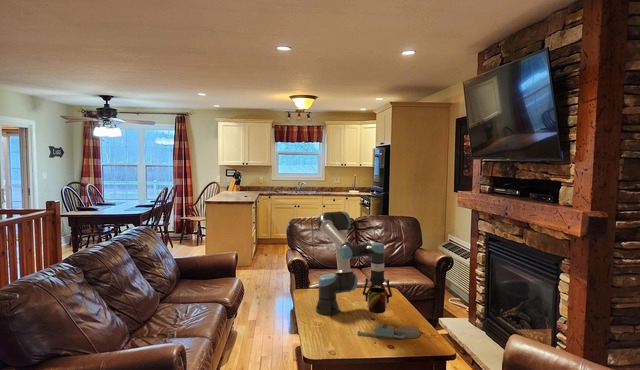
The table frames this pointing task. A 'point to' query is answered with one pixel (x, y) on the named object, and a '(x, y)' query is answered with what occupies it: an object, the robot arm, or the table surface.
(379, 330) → the latch block
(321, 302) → the robot arm
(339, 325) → the table surface
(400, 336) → the rail
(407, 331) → the coaster
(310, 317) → the table surface
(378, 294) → the mug
